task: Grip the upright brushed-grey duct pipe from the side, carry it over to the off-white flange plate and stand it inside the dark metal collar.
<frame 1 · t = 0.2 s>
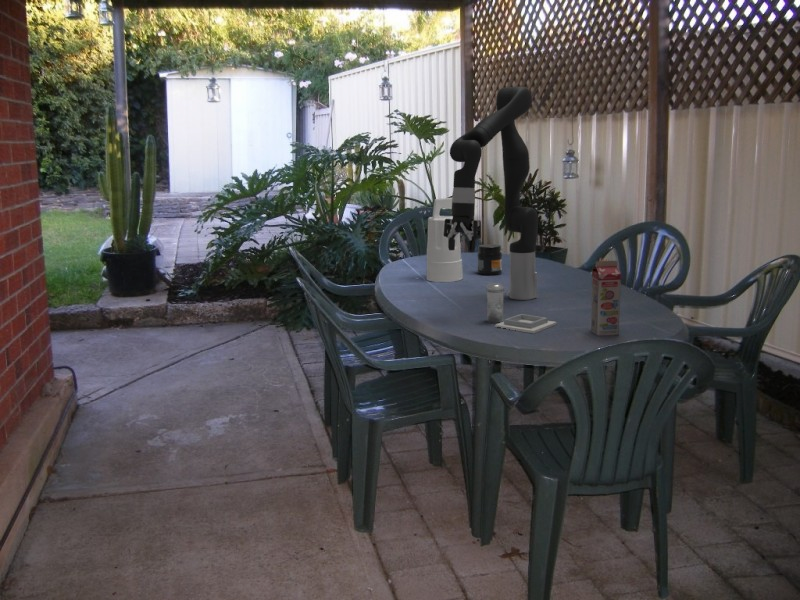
hand: (461, 251, 274), 22 cm above the table, tool pointing down, fingers open, 8 cm apart
juice carton: (604, 333, 252), on the table
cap: (444, 279, 345), on the table
duct pipe: (495, 320, 270), on the table
duct flange: (525, 325, 262), on the table
ammunition clip: (606, 291, 313), on the table
supplement container: (489, 274, 355), on the table
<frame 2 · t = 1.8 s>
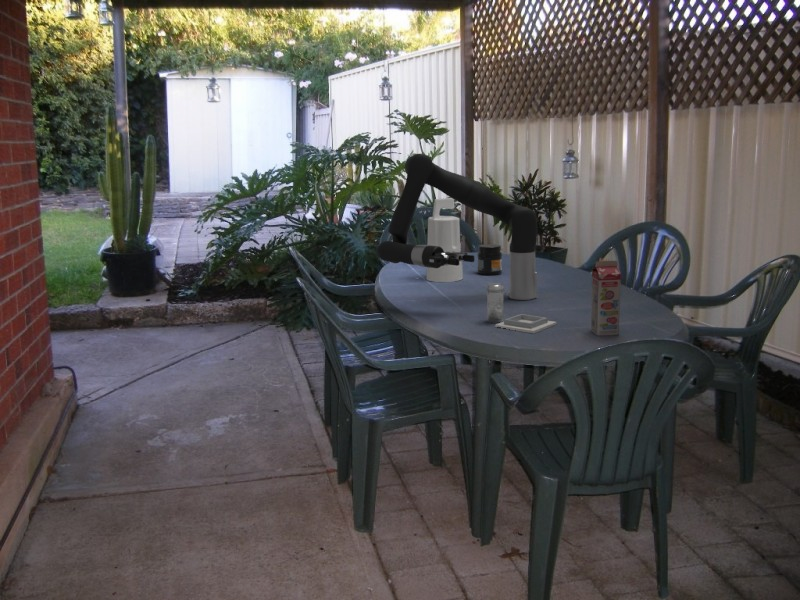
hand: (466, 260, 273), 19 cm above the table, tool horizontal, fingers open, 8 cm apart
nothing on the table moved.
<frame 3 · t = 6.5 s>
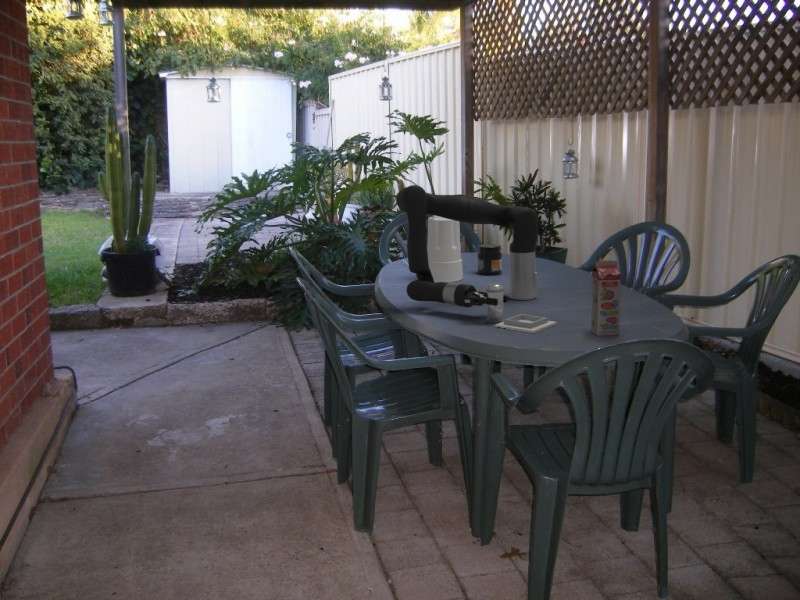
hand: (502, 300, 267), 7 cm above the table, tool horizontal, fingers closed on duct pipe, 5 cm apart
duct pipe: (495, 320, 270), on the table, touching gripper
everything else where it was.
when the fingers open (9 cm above the table, at t = 11.6 s): duct pipe drops 1 cm, resting on duct flange.
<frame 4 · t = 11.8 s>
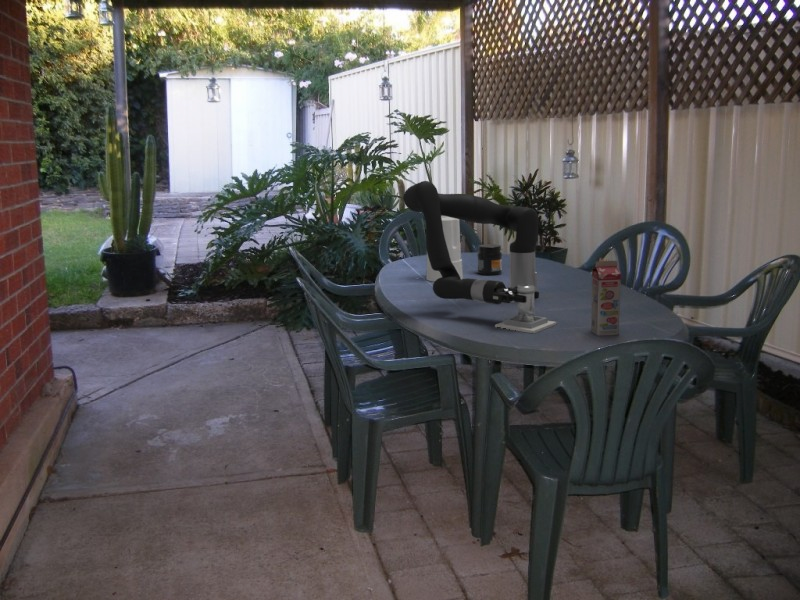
hand: (532, 297, 259), 9 cm above the table, tool horizontal, fingers open, 7 cm apart
duct pipe: (525, 323, 262), point 1 cm above the table, touching duct flange
everything else where it was.
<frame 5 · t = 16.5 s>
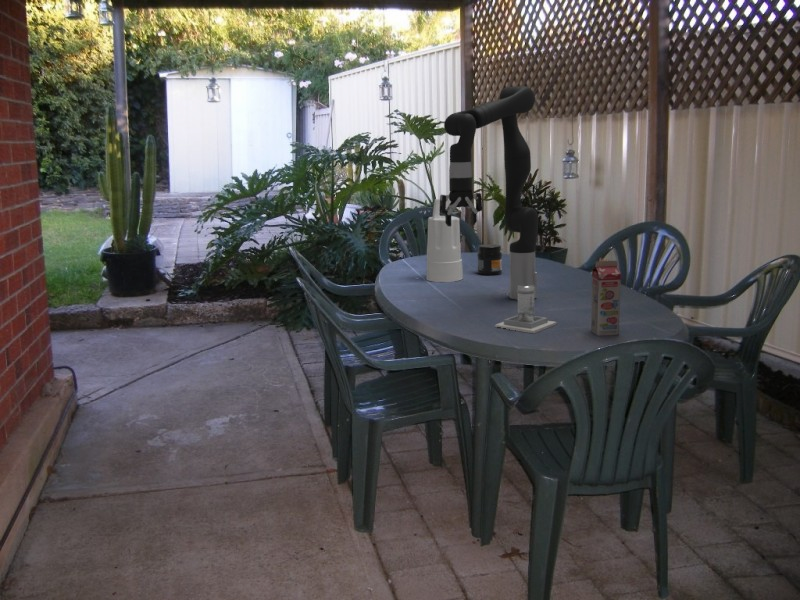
hand: (461, 225, 275), 30 cm above the table, tool pointing down, fingers open, 8 cm apart
nothing on the table moved.
at the end: duct pipe 0.1 cm off-centre on the duct flange, point 0.8 cm above the duct flange's base; duct pipe tilted 0°; the gripper is holding nothing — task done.
